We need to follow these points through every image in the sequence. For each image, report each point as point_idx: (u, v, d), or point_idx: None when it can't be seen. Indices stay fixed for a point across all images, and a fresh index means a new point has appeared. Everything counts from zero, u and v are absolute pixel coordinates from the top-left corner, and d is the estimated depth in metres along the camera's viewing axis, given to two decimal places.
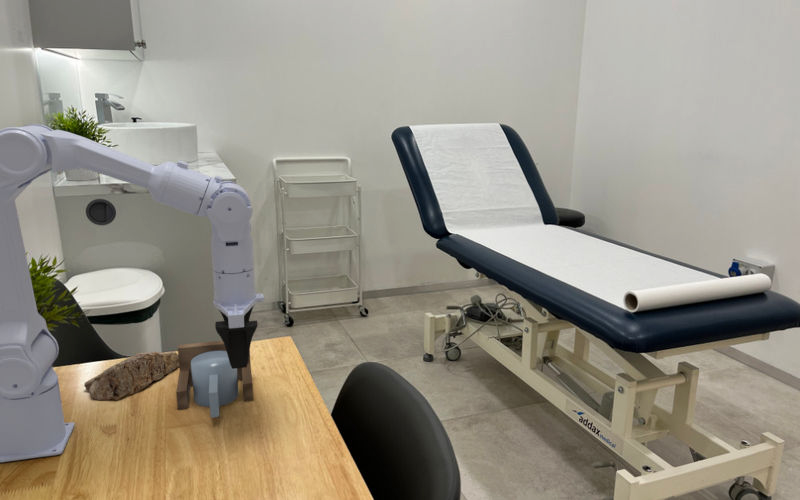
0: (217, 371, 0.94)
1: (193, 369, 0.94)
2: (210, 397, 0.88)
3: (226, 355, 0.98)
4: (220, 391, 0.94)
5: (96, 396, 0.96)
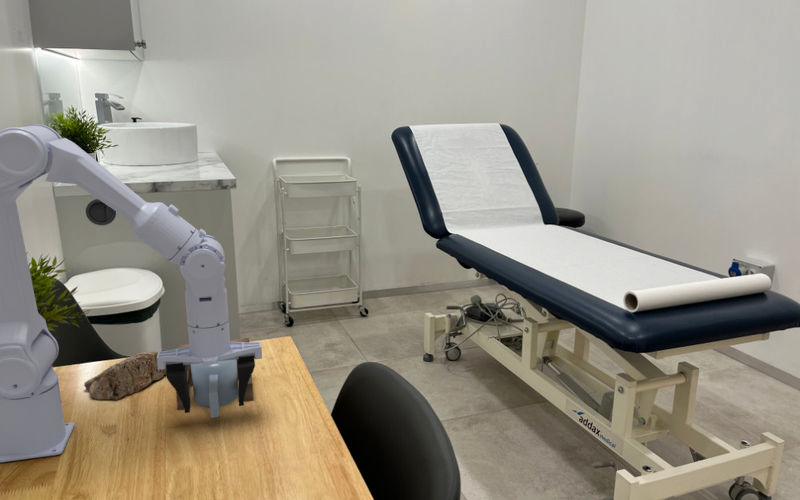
0: (217, 371, 0.94)
1: (193, 369, 0.94)
2: (210, 397, 0.88)
3: None
4: (220, 391, 0.94)
5: (96, 396, 0.96)
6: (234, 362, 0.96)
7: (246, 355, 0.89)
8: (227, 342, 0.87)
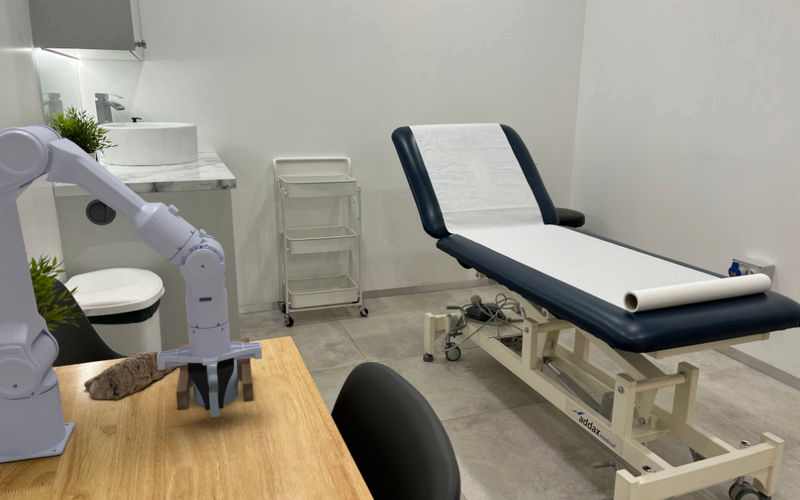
0: None
1: None
2: (210, 397, 0.88)
3: None
4: None
5: (96, 396, 0.96)
6: (234, 362, 0.96)
7: (246, 355, 0.89)
8: (227, 342, 0.87)
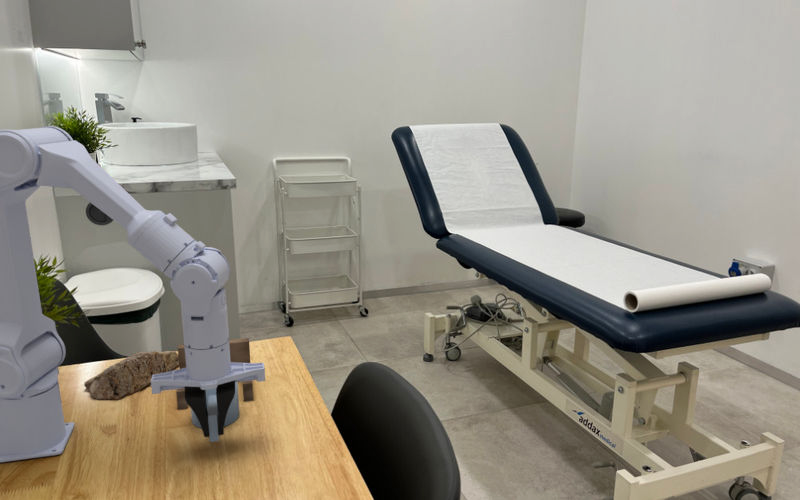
0: None
1: None
2: (209, 420, 0.82)
3: None
4: None
5: (96, 395, 0.96)
6: None
7: (248, 377, 0.82)
8: (228, 363, 0.80)
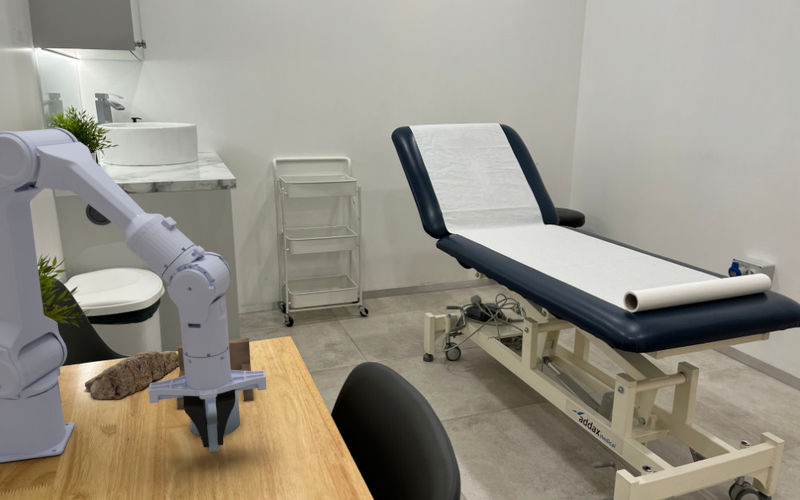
0: None
1: None
2: (208, 429, 0.79)
3: None
4: None
5: (97, 396, 0.96)
6: None
7: (248, 386, 0.80)
8: (228, 372, 0.78)
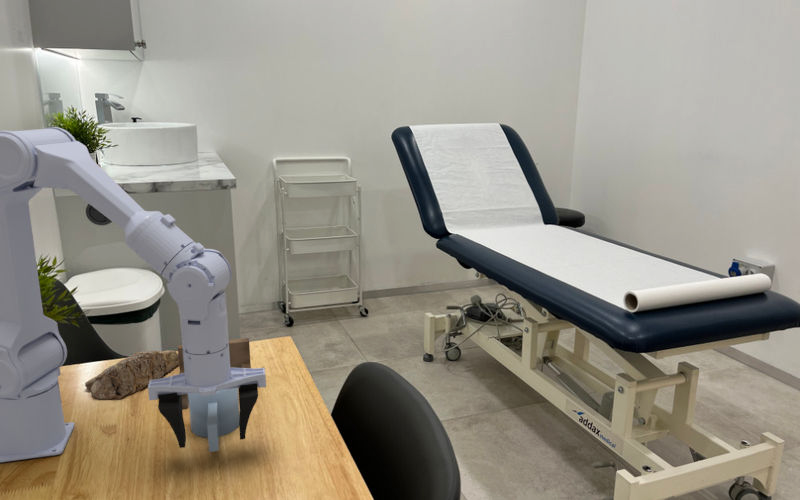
0: (216, 399, 0.85)
1: (190, 396, 0.86)
2: (209, 429, 0.79)
3: None
4: (220, 420, 0.86)
5: (98, 395, 0.96)
6: (235, 388, 0.88)
7: (248, 383, 0.80)
8: (227, 369, 0.77)
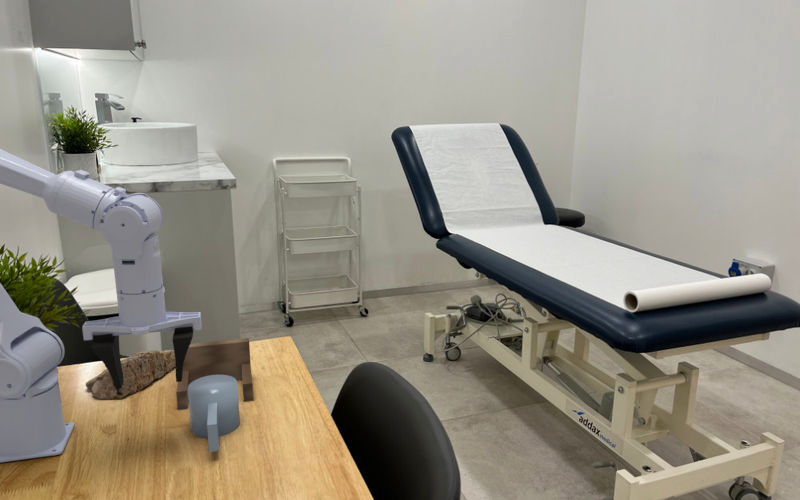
0: (216, 399, 0.85)
1: (190, 396, 0.86)
2: (209, 429, 0.79)
3: (226, 380, 0.90)
4: (220, 420, 0.86)
5: (99, 395, 0.96)
6: (235, 388, 0.88)
7: (183, 326, 0.81)
8: (161, 311, 0.79)
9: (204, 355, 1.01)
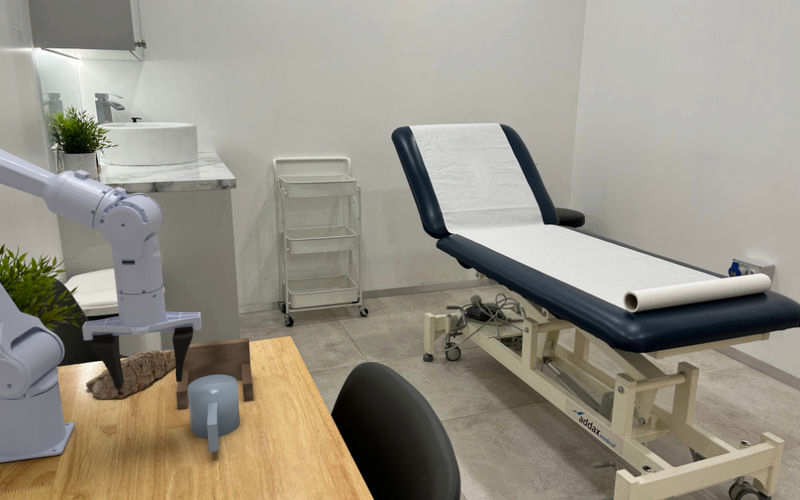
0: (216, 399, 0.85)
1: (190, 396, 0.86)
2: (209, 429, 0.79)
3: (226, 380, 0.90)
4: (220, 420, 0.86)
5: (100, 395, 0.96)
6: (235, 388, 0.88)
7: (183, 326, 0.81)
8: (161, 311, 0.79)
9: (204, 355, 1.01)
